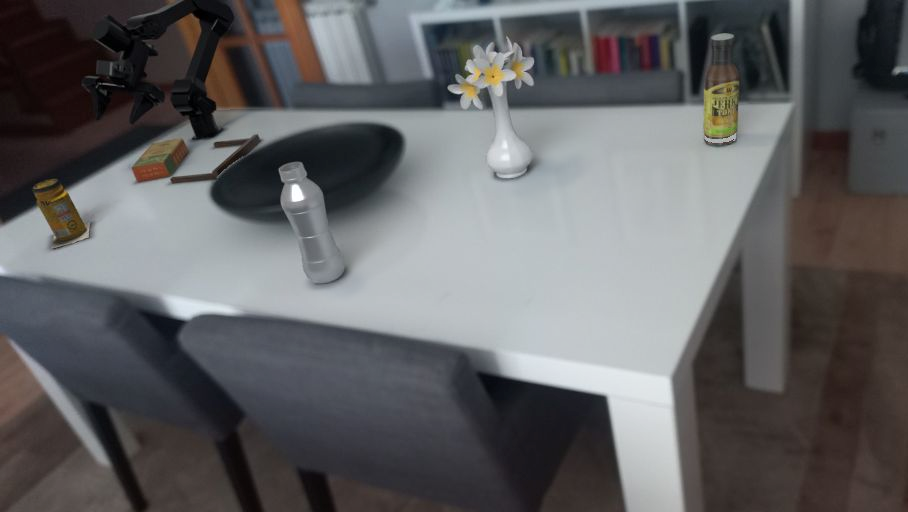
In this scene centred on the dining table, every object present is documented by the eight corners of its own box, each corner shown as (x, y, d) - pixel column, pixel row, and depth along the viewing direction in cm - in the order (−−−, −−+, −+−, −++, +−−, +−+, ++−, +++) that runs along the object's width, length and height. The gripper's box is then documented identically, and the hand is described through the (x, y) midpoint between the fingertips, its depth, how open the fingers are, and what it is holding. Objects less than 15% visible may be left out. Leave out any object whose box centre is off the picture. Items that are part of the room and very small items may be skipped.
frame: (217, 146, 190) (214, 138, 189) (260, 141, 187) (258, 134, 186) (171, 183, 172) (168, 175, 171) (219, 178, 169) (216, 171, 168)
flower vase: (461, 193, 140) (433, 64, 126) (503, 153, 153) (481, 33, 140) (522, 197, 134) (500, 62, 121) (560, 155, 147) (543, 29, 134)
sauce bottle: (711, 150, 137) (710, 44, 126) (698, 139, 142) (695, 36, 132) (744, 143, 137) (745, 36, 127) (729, 132, 143) (729, 29, 132)
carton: (189, 152, 190) (183, 136, 187) (170, 176, 176) (163, 160, 174) (158, 157, 190) (151, 142, 187) (136, 182, 176) (129, 166, 174)
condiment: (89, 223, 159) (63, 173, 152) (89, 237, 152) (61, 186, 146) (54, 235, 157) (26, 184, 150) (52, 250, 150) (22, 198, 144)
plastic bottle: (311, 271, 123) (272, 162, 113) (350, 264, 123) (315, 154, 113) (305, 291, 118) (264, 179, 107) (346, 284, 118) (309, 170, 107)
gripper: (76, 41, 171) (55, 101, 167) (146, 48, 168) (127, 109, 164) (107, 66, 182) (88, 123, 178) (174, 73, 178) (156, 131, 175)
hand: (113, 121), depth 174 cm, fingers open, 9 cm apart
